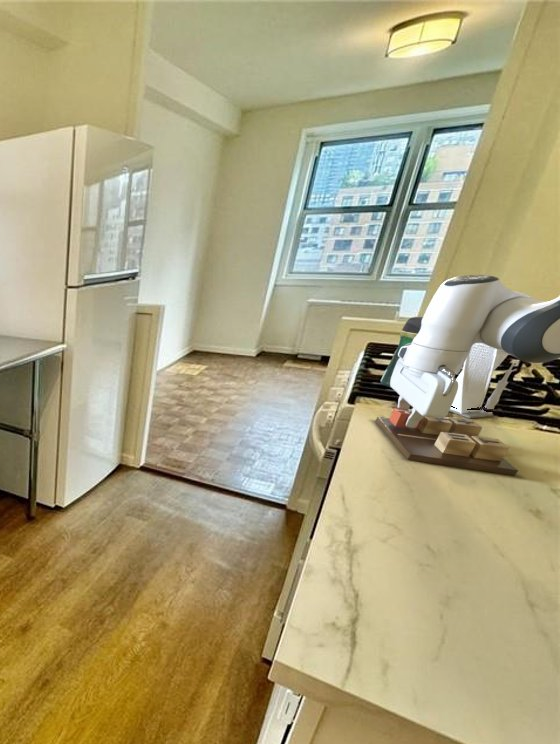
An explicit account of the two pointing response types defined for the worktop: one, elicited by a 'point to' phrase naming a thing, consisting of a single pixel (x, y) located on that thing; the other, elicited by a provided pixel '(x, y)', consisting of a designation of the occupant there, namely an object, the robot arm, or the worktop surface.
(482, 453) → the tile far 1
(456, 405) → the skyscraper
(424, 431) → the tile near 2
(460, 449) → the tile
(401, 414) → the red toy block
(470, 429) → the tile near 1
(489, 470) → the board
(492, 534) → the worktop surface
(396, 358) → the coffee jar
